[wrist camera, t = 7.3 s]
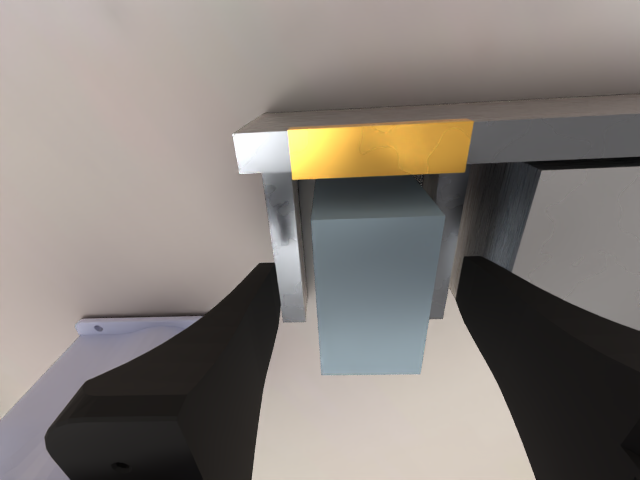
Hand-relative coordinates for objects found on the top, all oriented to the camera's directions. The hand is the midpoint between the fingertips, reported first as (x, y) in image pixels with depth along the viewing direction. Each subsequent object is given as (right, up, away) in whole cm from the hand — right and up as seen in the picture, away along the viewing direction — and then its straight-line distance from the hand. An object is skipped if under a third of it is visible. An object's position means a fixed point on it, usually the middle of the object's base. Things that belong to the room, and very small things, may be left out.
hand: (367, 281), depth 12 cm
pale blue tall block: (0, +2, +4) cm, 5 cm away
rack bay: (+4, +3, +3) cm, 6 cm away
